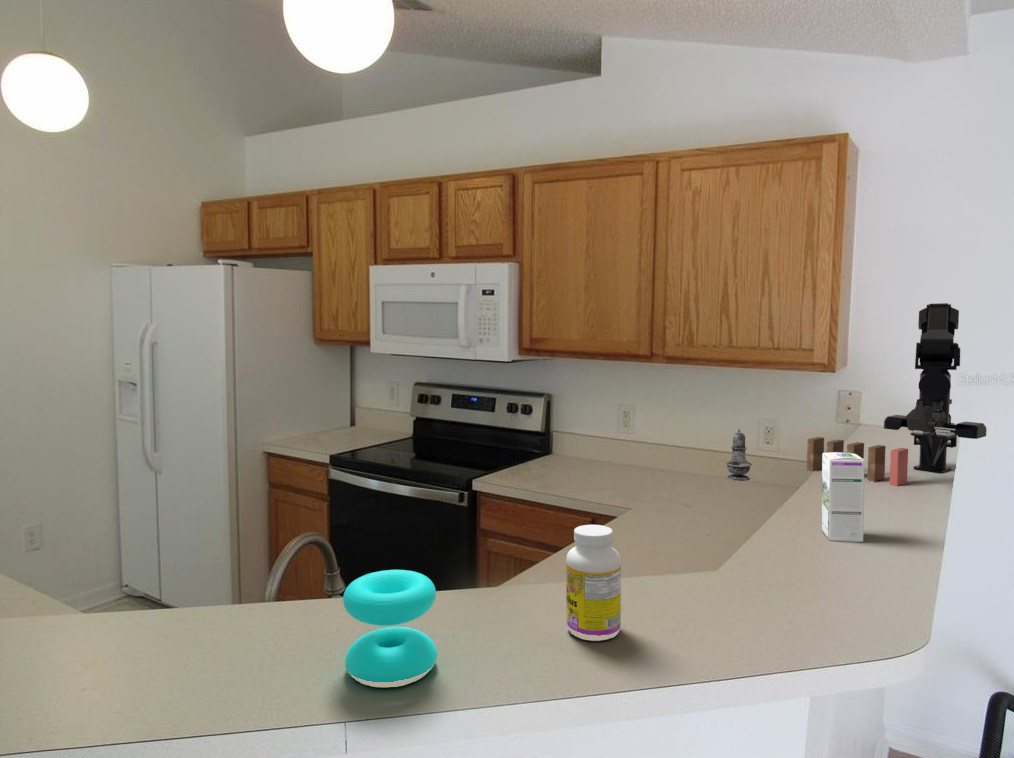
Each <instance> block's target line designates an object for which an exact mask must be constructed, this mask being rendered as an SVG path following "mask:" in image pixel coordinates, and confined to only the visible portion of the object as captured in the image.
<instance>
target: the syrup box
mask: <svg viewBox="0 0 1014 758" xmlns="http://www.w3.org/2000/svg"><path fill="white" fill-rule="evenodd" d="M864 518H865V458H864V459H862V458H861V457H859V456H858V455H856V454H855V453H847V451H846V452H844V451H843V452H830V453H827V452H824V453H823V454H822V469H821V526H820V527H821V532H822V533H823V534H824V536H825V537H826V538H827V539H828V540H829V541H832V542H833V541H835V542H848V543H849V542H850V543H852V542H853V543H864V527H865V526H864V525H865V524H864V523H865V521H864V520H865V519H864Z"/></svg>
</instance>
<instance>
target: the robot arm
mask: <svg viewBox="0 0 1014 758" xmlns="http://www.w3.org/2000/svg"><path fill="white" fill-rule="evenodd" d="M959 315H960V310H959V309H956V308H954V307H952V303H950V304H949V303H947V302H945V303H944V302H943V303H940V302H939V303H930V304H926V307H925V308H922V309H921V310H918V323H917V325H918V330H921V334H920V339H919V341H920V342H916V346H915V361H914V369H915V370H922V371H921V373H920V374H919V375H920V376H919V381H918V390H919V398H918V399H916V402H915V407H914V408H913V409H912V410H911V411H909V412H908V413H907V415H903V414H902V415H900V414H893V415H888V416H887V417H885V418H884V420H883V429H885V430H893V431H898V430H900V429H901V428H907V429H908V431H911V432H910V436H913V446H919V462H918V465H915V466H912V467H913V469H914V470H921V471H927V472H934V473H938V474H939V473H940V474H942V473H944V472H945V473H946V472H947V471H951V470H952V467H950V466H947V454H948V453H947V448H951V449H953V448H957V445H958V444H957V442H958V441H957V440H958V438H963V439H972V440H976V439H977V440H978V439H981V438H984V437H987V426H986V425H985V423H983V422H975V421H974V422H973V421H962V422H959V423H954V422H952V416H951V414H950V405H952V404H953V399H951V388H952V384H951V381H952V380H951V379H952V378H951V376H952V374H951V373H950V372H949V371H957V367H961V347H959V344H958V342H954V341H955V340H954V339H955V338H954V337H955V332H956V330H958V329H959V321H960V320H959V319H960V316H959Z"/></svg>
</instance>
